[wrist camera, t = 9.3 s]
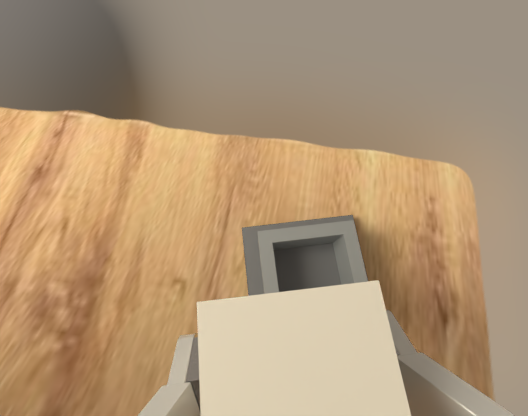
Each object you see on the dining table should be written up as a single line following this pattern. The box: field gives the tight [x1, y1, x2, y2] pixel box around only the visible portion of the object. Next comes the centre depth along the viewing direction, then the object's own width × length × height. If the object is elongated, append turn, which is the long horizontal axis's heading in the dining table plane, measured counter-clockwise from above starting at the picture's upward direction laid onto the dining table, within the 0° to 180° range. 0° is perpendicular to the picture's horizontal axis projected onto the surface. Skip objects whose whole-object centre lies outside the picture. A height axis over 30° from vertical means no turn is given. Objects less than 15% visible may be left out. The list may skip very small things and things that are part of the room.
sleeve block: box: [197, 280, 411, 416], centre depth 10 cm, size 4×4×10 cm
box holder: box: [242, 215, 368, 296], centre depth 26 cm, size 12×12×5 cm
